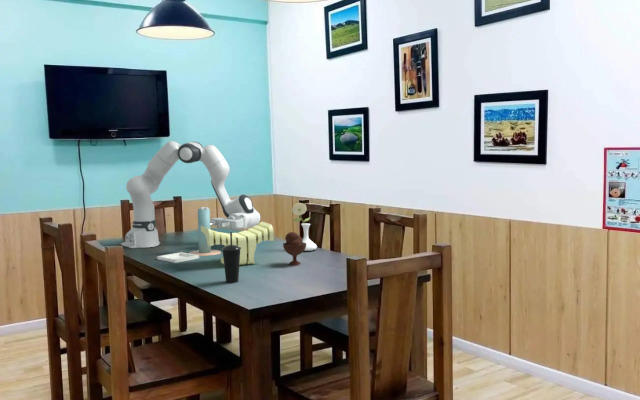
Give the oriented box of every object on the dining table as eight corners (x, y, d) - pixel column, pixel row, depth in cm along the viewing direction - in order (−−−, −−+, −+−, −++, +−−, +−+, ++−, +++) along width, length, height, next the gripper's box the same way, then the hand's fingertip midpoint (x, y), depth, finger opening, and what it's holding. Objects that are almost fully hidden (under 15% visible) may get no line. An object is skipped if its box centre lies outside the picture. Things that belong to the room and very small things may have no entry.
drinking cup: (223, 279, 235) (222, 231, 233) (242, 279, 236) (241, 230, 234) (221, 284, 228) (220, 233, 226) (241, 283, 228) (240, 233, 226)
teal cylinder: (196, 252, 293) (195, 207, 291) (205, 250, 297) (204, 206, 295) (204, 253, 289) (202, 207, 287) (213, 252, 293) (212, 206, 291)
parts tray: (157, 260, 277) (157, 256, 277) (181, 256, 288) (181, 252, 288) (175, 264, 268) (175, 259, 268) (199, 259, 279) (199, 255, 279)
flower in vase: (318, 248, 306) (317, 201, 304) (315, 252, 295) (315, 203, 292) (293, 248, 307) (293, 201, 305) (290, 252, 296) (289, 203, 294)
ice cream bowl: (304, 266, 259) (303, 233, 257) (279, 266, 261) (279, 233, 260) (309, 262, 269) (308, 230, 268) (286, 261, 271) (285, 229, 270)
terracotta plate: (182, 254, 292) (182, 252, 292) (207, 250, 304) (207, 248, 304) (202, 258, 282) (202, 256, 282) (227, 253, 294) (227, 251, 294)
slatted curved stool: (210, 269, 255) (209, 229, 254) (201, 263, 270) (200, 225, 268) (274, 263, 268) (273, 225, 266) (262, 257, 282) (262, 221, 281)
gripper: (222, 214, 314) (202, 216, 304) (248, 216, 301) (228, 219, 291) (222, 225, 315) (202, 228, 304) (248, 228, 302) (228, 231, 291)
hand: (215, 224), depth 297 cm, fingers open, 8 cm apart
